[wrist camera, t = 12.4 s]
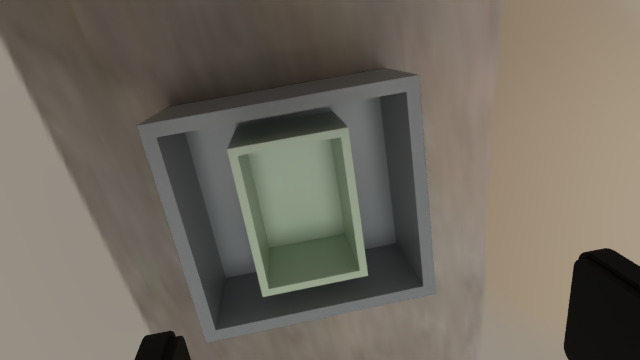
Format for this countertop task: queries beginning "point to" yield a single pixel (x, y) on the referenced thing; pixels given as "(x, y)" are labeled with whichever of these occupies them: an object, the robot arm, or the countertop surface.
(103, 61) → the countertop surface
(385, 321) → the countertop surface
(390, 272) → the big crate
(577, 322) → the robot arm
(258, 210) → the small crate
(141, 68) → the countertop surface
